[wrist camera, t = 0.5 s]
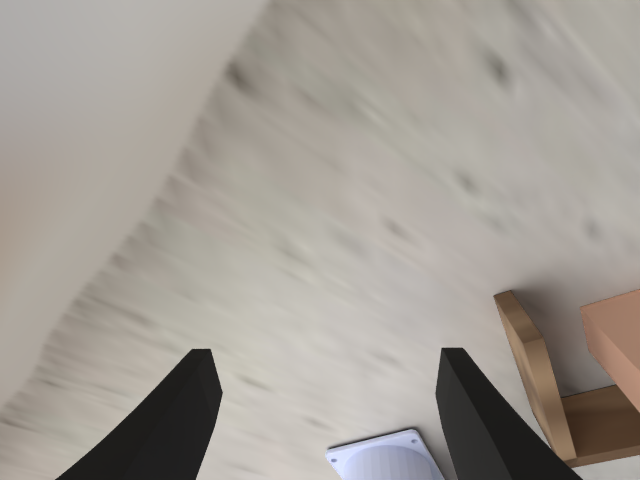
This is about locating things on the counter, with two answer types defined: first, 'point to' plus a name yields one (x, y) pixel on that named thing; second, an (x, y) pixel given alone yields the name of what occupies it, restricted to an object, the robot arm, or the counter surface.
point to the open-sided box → (568, 400)
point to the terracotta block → (616, 340)
